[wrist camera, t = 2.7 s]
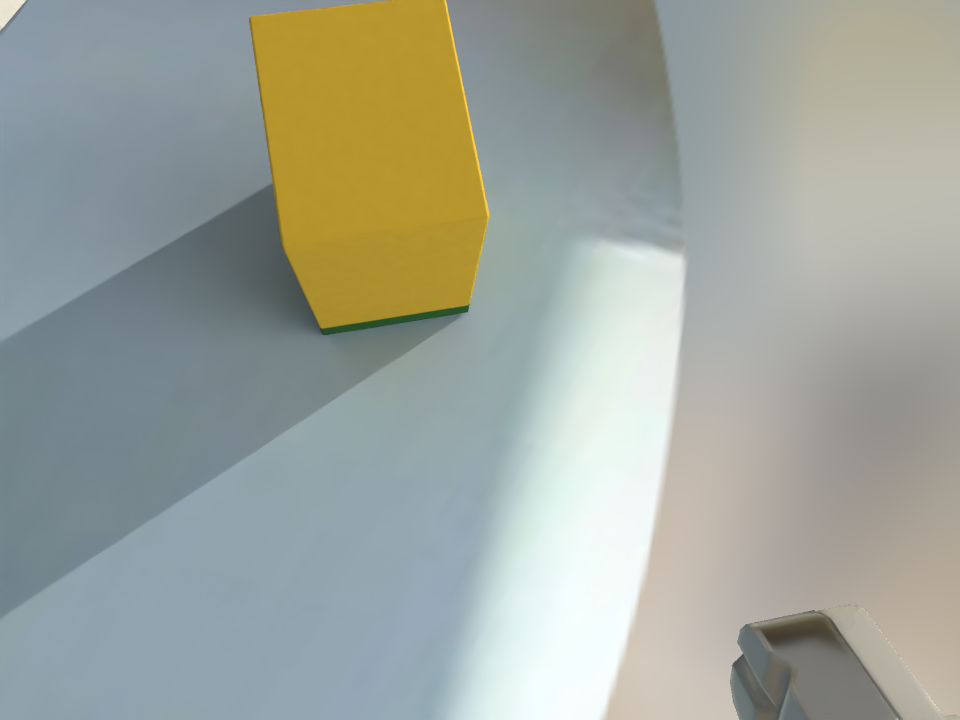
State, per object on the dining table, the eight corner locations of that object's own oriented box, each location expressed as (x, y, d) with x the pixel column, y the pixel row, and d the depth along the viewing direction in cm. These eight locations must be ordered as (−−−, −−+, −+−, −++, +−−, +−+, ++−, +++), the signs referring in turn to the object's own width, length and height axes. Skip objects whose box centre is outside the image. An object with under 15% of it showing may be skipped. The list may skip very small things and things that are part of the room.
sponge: (468, 312, 26) (489, 217, 18) (322, 335, 26) (281, 248, 18) (436, 147, 27) (444, -7, 19) (297, 167, 27) (248, 15, 19)
